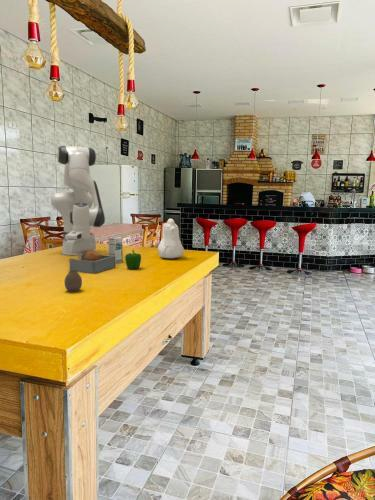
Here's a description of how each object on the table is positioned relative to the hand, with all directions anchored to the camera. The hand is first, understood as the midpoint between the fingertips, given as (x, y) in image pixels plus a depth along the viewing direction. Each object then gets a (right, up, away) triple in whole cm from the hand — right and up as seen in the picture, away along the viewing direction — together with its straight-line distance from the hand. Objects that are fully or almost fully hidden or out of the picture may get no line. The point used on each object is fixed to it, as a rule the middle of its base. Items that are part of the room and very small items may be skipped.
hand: (82, 260), depth 204 cm
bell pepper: (+27, -5, +1) cm, 27 cm away
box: (+6, -5, -2) cm, 8 cm away
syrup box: (+14, -2, +18) cm, 23 cm away
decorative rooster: (+45, 0, +38) cm, 59 cm away
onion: (+5, -5, -1) cm, 7 cm away
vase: (+9, -12, -46) cm, 48 cm away
